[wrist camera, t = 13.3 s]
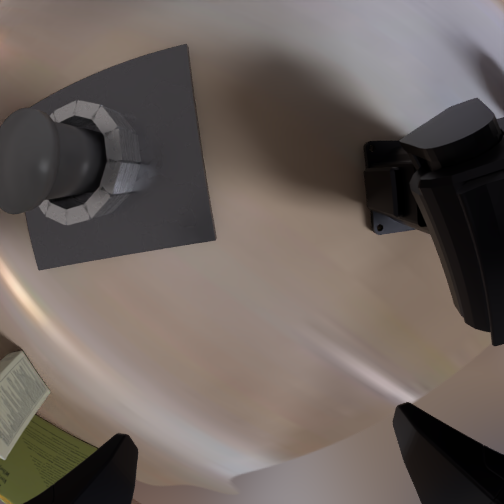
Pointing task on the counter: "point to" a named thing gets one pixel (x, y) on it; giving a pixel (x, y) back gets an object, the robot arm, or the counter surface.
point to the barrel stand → (130, 165)
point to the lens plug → (46, 160)
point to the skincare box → (18, 398)
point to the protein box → (39, 461)
